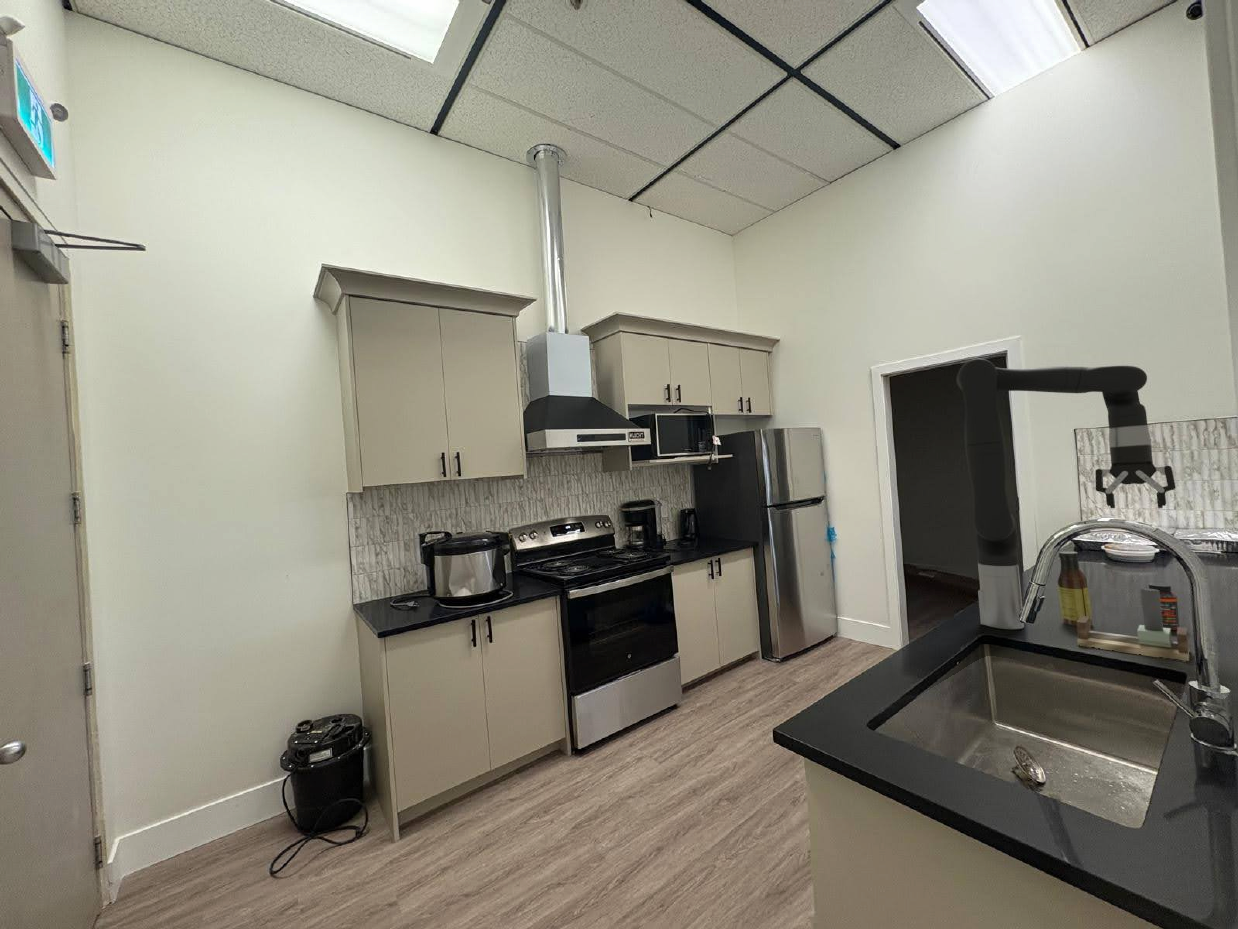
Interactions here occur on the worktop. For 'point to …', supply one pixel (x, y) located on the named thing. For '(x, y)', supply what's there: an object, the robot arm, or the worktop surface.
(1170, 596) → the supplement bottle
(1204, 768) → the worktop surface
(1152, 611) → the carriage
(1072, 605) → the sauce bottle
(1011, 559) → the robot arm
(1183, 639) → the rail board
